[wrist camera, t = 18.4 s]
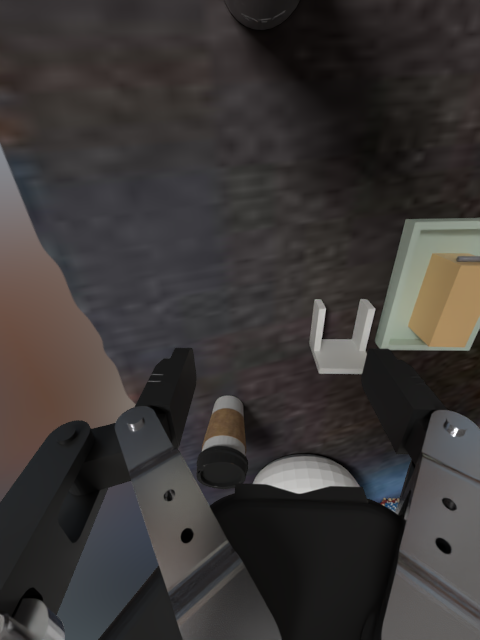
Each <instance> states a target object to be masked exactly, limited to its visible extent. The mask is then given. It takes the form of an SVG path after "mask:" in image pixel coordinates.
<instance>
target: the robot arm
mask: <svg viewBox="0 0 480 640" xmlns="http://www.w3.org/2000/svg"><path fill="white" fill-rule="evenodd" d="M299 1H300V0H224V2H225V3H226V5H227V7H228V9H229V11H230V12H231V13H232V15H233V16H234V17H235V18H236V19H237V20H238V21H239V22H240V23H242V24H243V25H244V26H247V27H249V28H252V29H256V30H266V29H270V28H273V27H275V26H277V25H279V24H281V23H282V22H283V21H284V20H286V19H287V18H288V17H289V16H290V15H291V13H292V12H293V11H294V10H295V8H296V7H297V5H298V3H299ZM362 386H363V389H364V391H365V393H366V395H367V397H368V399H369V401H370V403H371V405H372V407H373V409H374V411H375V413H376V415H377V417H378V419H379V421H380V423H381V425H382V427H383V428H384V430H385V432H386V434H387V436H388V438H389V440H390V442H391V444H392V446H393V448H394V450H395V452H396V454H409V455H410V457H411V459H412V460H411V463H410V465H409V468H408V472H407V475H406V478H405V482H404V485H403V489H402V492H401V496H400V499H399V502H398V505H397V508H396V511H395V512H393V511H392V510H390V509H389V508H387V507H385V506H383V505H381V504H380V503H377V502H375V501H373V500H370V499H367V498H366V495H365V493H364V490H363V487H346V486H329V487H325V488H321V489H318V490H314V491H310V492H306V493H302V494H298V493H294V492H290V491H287V490H284V489H280V488H277V487H274V486H270V485H267V484H240V483H235V494H231V495H228V496H226V497H223V498H221V499H219V500H218V501H216V502H214V503H213V504H212V505H210V506H209V505H208V503H207V501H206V499H205V497H204V496H203V494H202V492H201V490H200V488H199V486H198V485H197V483H196V481H195V479H194V477H193V475H192V473H191V472H190V470H189V468H188V466H187V464H186V462H185V461H184V459H183V457H182V455H181V453H180V452H179V450H178V449H177V448H179V445H180V441H181V438H182V434H183V430H184V427H185V423H186V419H187V416H188V412H189V409H190V405H191V401H192V398H193V394H194V390H195V387H196V369H195V362H194V355H193V350H192V348H175V350H174V352H173V354H172V356H171V358H170V359H163V360H162V361H161V362H160V363H158V364H157V365H156V366H155V368H154V370H153V372H152V375H151V376H150V378H149V380H148V382H147V384H146V386H145V388H144V390H143V392H142V394H141V396H140V398H139V400H138V402H137V404H136V405H135V407H134V408H131V409H129V410H127V411H126V412H124V413H123V414H122V415H121V416H120V417H119V418H118V419H117V421H116V423H113V424H110V425H106V426H102V427H98V428H94V429H91V428H90V426H89V424H88V423H87V422H84V421H72V422H68V423H66V424H63V425H61V426H60V427H58V428H57V429H55V430H54V431H53V432H52V433H51V434H50V435H49V436H48V437H47V438H46V440H45V441H44V443H43V444H42V445H41V447H40V448H39V450H38V451H37V452H36V454H35V455H34V456H33V458H32V459H31V460H30V462H29V463H28V465H27V466H26V467H25V469H24V470H23V472H22V473H21V474H20V476H19V477H18V479H17V480H16V481H15V483H14V484H13V486H12V487H11V488H10V490H9V491H8V493H7V494H6V495H5V497H4V498H3V499H2V501H1V502H0V640H64V639H65V631H64V626H63V623H62V621H61V620H60V618H59V617H58V616H56V615H57V612H58V610H59V607H60V605H61V603H62V600H63V598H64V595H65V593H66V590H67V588H68V586H69V583H70V581H71V578H72V576H73V573H74V570H75V568H76V566H77V563H78V561H79V559H80V556H81V553H82V551H83V549H84V546H85V544H86V541H87V539H88V536H89V534H90V531H91V529H92V527H93V524H94V521H95V519H96V517H97V514H98V511H99V509H100V507H101V504H102V502H103V500H104V497H105V495H106V492H107V490H108V487H112V486H115V485H118V484H122V483H125V482H128V481H131V482H132V485H133V488H134V491H135V494H136V497H137V500H138V503H139V506H140V509H141V512H142V515H143V518H144V521H145V524H146V527H147V530H148V533H149V537H150V540H151V543H152V546H153V548H154V552H155V555H156V558H157V561H158V564H159V566H158V567H157V568H156V569H155V571H154V572H153V573H152V574H151V576H150V577H149V578H148V579H147V581H146V582H145V583H144V584H143V585H142V587H141V588H140V589H139V590H138V591H137V593H136V594H135V595H134V596H133V598H132V599H131V600H130V601H129V602H128V604H127V605H126V606H125V607H124V609H123V610H122V611H121V612H120V613H119V615H118V616H117V617H116V618H115V620H114V621H113V622H112V623H111V624H110V626H109V627H108V628H107V629H106V631H105V632H104V633H103V634H102V635H101V637H100V638H99V639H98V640H480V429H479V428H478V427H477V425H476V424H475V423H473V422H472V421H471V420H469V419H468V418H466V417H465V416H463V415H461V414H458V413H456V412H453V411H448V410H447V409H446V407H445V406H444V405H443V404H442V402H441V401H440V400H439V399H438V398H437V396H436V395H435V394H434V393H433V392H432V390H431V389H430V388H429V387H428V385H426V383H425V382H424V381H423V379H422V378H420V376H419V375H418V373H417V372H416V371H415V370H414V369H413V367H411V366H410V365H408V364H407V363H405V362H404V361H402V360H397V358H396V357H395V356H394V355H393V353H392V352H391V351H390V350H389V349H369V350H368V352H367V356H366V360H365V364H364V368H363V372H362Z"/></svg>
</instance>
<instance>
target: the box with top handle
mask: <svg viewBox="0 0 480 640" xmlns="http://www.w3.org/2000/svg"><path fill="white" fill-rule="evenodd" d="M479 316H480V256H474V255H472V254H469V253H432V256H431V259H430V262H429V265H428V268H427V271H426V274H425V277H424V280H423V283H422V286H421V288H420V291H419V294H418V297H417V300H416V303H415V306H414V309H413V312H412V315H411V318H410V321H409V324H408V327H409V328H410V329H411V330H412V331H413V332H414V333H415V334H416V335H417V336H418V337H419V338H420V339H421V340H422V341H423V342H425V343H426V344H427V345H428V346H429V347H465V346H466V344H467V341H468V339H469V337H470V335H471V333H472V331H473V329H474V327H475V325H476V323H477V320H478V318H479Z"/></svg>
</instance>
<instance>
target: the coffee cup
mask: <svg viewBox="0 0 480 640" xmlns="http://www.w3.org/2000/svg"><path fill="white" fill-rule="evenodd" d="M245 454H246V440H245V427H244V413H243V404H242V402H241V401H240V400H239V399H238V398H236V397H234V396H222V397H220V398H218V399H217V400H216V402H215V405H214V409H213V412H212V416H211V419H210V422H209V425H208V429H207V432H206V435H205V439H204V442H203V445H202V452H201V453H200V454H199V456H198V460H197V479H198V481H199V482H200V483H202V484H203V485H206V486H209V487H213V488H219V489H230V488H235V483H240V484H242V483H243V482H244V481H245V478H246V473H247V470H248V460H247V458H246V456H245Z"/></svg>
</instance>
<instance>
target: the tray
mask: <svg viewBox="0 0 480 640" xmlns="http://www.w3.org/2000/svg"><path fill="white" fill-rule="evenodd" d="M432 253H469V254H472V255H474V256H480V218H446V219H406V220H405V224H404V228H403V232H402V236H401V240H400V244H399V248H398V252H397V256H396V260H395V264H394V267H393V271H392V275H391V279H390V283H389V287H388V291H387V295H386V299H385V303H384V307H383V311H382V314H381V318H380V322H379V326H378V330H377V334H376V338H375V343H376V344H377V346H378V347H379V348H380V349H389V350H466V351H469V350H470V348H471V346H472V343H473V341H474V339H475V337H476V335H477V333H478V330H479V328H480V316H479V318H478V320H477V323H476V325H475V327H474V329H473V331H472V333H471V335H470V337H469V339H468V341H467V344H466V346H465V347H429V346H428V345H427V344H426V343H425V342H423V341H422V340H421V339H420V338H419V337H418V336H417V335H416V334H415V333H414V332H413V331H412V330H411V329H410V328H409V327H408V324H409V321H410V318H411V315H412V312H413V309H414V306H415V303H416V300H417V297H418V294H419V291H420V288H421V286H422V283H423V280H424V277H425V274H426V271H427V268H428V265H429V262H430V259H431V256H432Z"/></svg>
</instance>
